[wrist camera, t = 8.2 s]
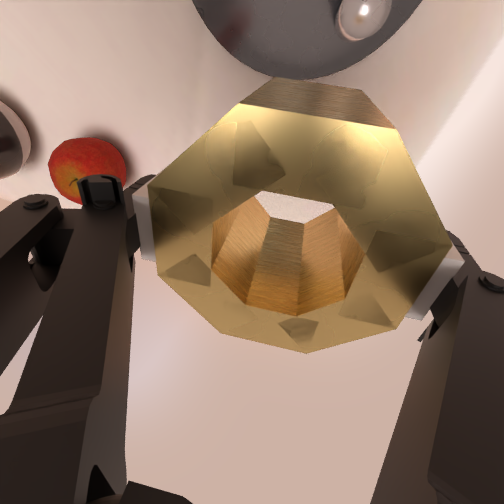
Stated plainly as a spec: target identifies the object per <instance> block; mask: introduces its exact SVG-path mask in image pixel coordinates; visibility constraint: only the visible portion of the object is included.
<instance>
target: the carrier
mask: <svg viewBox="0 0 504 504" xmlns="http://www.w3.org/2000/svg"><path fill="white" fill-rule="evenodd" d="M192 1H193V3H194V5H195V7H196V9H197V11H198V13H199V15H200V16H201V18H202V19H203V21H204V23H205V24H206V26H207V28H208V29H209V30H210V31H211V33H212V34H213V35H214V37H215V38H216V39H217V41H218V42H219V43H220V44H221V45H222V46H223V47H224V48H225V49H226V50H227V51H228V52H229V53H230V54H232V55H233V56H234V57H235V58H237V59H238V60H239V61H241V62H242V63H244V64H245V65H247V66H249V67H251V68H252V69H254V70H256V71H258V72H261V73H264V74H266V75H269V76H273V77H281V78H287V79H294V80H302V79H314V78H318V77H322V76H326V75H330V74H333V73H335V72H338V71H341V70H343V69H346V68H347V67H349V66H351V65H353V64H355V63H357V62H359V61H360V60H362V59H363V58H365V57H366V56H368V55H369V54H371V53H372V52H373V51H375V50H376V49H378V48H379V47H380V46H381V45H382V44H383V43H384V42H386V41H387V40H388V39H389V38H390V37H391V36H392V35H393V34H394V33H395V32H396V31H397V30H398V29H399V28H400V27H401V26H402V25H403V24H404V23H405V22H406V20H407V19H408V18H409V17H410V16H411V14H412V13H413V12H414V11H415V9H416V8H417V7H418V5H419V4H420V3H421V1H422V0H192Z"/></svg>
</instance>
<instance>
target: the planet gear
mask: <svg viewBox="0 0 504 504" xmlns="http://www.w3.org/2000/svg"><path fill="white" fill-rule="evenodd" d="M147 188H148V197H149V205H150V214H151V222H152V231H153V239H154V248H155V256H156V264H157V273H158V276H159V277H160V278H161V279H162V280H163V281H164V282H166V283H167V284H168V285H169V286H170V287H171V288H172V289H173V290H174V291H175V292H176V293H178V294H179V295H180V296H181V297H182V298H183V299H184V300H185V301H186V302H187V303H188V304H190V305H191V306H192V307H193V308H194V309H195V310H196V311H197V312H198V313H199V314H200V315H201V316H203V317H204V318H205V319H206V320H207V321H208V322H209V323H210V324H211V325H212V326H213V327H215V328H216V329H217V330H218V331H219V332H220V333H222V334H226V335H230V336H234V337H239V338H243V339H247V340H252V341H256V342H260V343H264V344H268V345H272V346H277V347H281V348H285V349H289V350H294V351H297V352H302V353H306V354H307V353H310V352H314V351H317V350H321V349H325V348H329V347H332V346H336V345H339V344H343V343H347V342H351V341H354V340H358V339H362V338H365V337H369V336H372V335H376V334H379V333H383V332H387V331H390V330H394V329H397V327H398V326H399V324H400V322H401V321H402V320H403V318H404V317H405V315H406V314H407V312H408V311H409V309H410V308H411V307H412V305H413V304H414V302H415V301H416V299H417V298H418V296H419V295H420V293H421V292H422V290H423V289H424V287H425V286H426V284H427V283H428V281H429V280H430V279H431V277H432V276H433V274H434V273H435V271H436V270H437V268H438V267H439V265H440V264H441V262H442V261H443V259H444V258H445V256H446V255H447V253H448V252H449V251H450V249H451V248H452V246H453V244H452V242H451V240H450V238H449V236H448V234H447V232H446V230H445V228H444V226H443V224H442V222H441V220H440V218H439V216H438V214H437V211H436V210H435V207H434V205H433V203H432V201H431V199H430V197H429V195H428V193H427V191H426V189H425V187H424V185H423V183H422V181H421V179H420V177H419V175H418V173H417V171H416V168H415V166H414V164H413V162H412V160H411V158H410V156H409V154H408V152H407V150H406V148H405V146H404V144H403V142H402V140H401V138H400V136H399V134H398V132H397V130H396V128H395V127H394V126H393V125H392V124H391V123H390V122H389V121H388V119H387V118H386V117H385V116H384V115H383V114H382V113H381V112H380V110H379V109H378V108H377V107H376V106H375V105H374V104H373V102H372V101H371V100H370V99H369V98H368V97H367V96H366V95H365V93H364V92H363V91H362V90H357V89H351V88H345V87H338V86H332V85H326V84H319V83H313V82H306V81H300V80H294V79H287V78H281V77H274V78H273V79H271V80H270V81H269V82H267V83H266V84H264V85H263V86H262V87H260V88H259V89H258V90H256V91H255V92H253V93H252V94H251V95H249V96H248V97H247V98H245V99H244V100H242V101H241V102H240V103H238V104H237V105H236V106H235V107H234V108H233V109H232V110H230V111H229V112H228V113H227V114H226V115H225V116H224V117H223V118H222V119H220V120H219V121H218V122H217V123H216V124H215V125H214V126H213V127H211V128H210V129H209V130H208V131H207V132H206V133H205V134H204V135H202V136H201V137H200V138H199V139H198V140H197V141H196V142H195V143H194V144H192V145H191V146H190V147H189V148H188V149H187V150H186V151H185V152H183V153H182V154H181V155H180V156H179V157H178V158H177V159H176V160H174V161H173V162H172V163H171V164H170V165H169V166H168V167H167V168H166V169H164V170H163V171H162V172H161V173H160V174H159V175H158V176H157V177H155V178H154V179H153V180H152V181H151V182H150V183H149V184H148V185H147ZM260 191H268V192H273V193H278V194H283V195H288V196H294V197H299V198H304V199H309V200H315V201H320V202H325V203H330V204H333V206H334V207H335V208H333V209H331V210H330V211H328V212H326V213H324V214H322V215H320V216H318V217H316V218H315V219H313V220H311V221H309V222H307V223H305V224H303V223H298V222H293V221H288V220H283V219H278V218H273V217H270V216H269V214H268V213H267V212H266V211H265V209H264V208H263V207H262V206H261V204H260V203H259V202H258V200H257V199H256V198H255V197H254V195H256V194H257V193H259V192H260Z"/></svg>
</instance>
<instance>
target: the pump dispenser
mask: <svg viewBox="0 0 504 504" xmlns="http://www.w3.org/2000/svg"><path fill="white" fill-rule="evenodd" d="M30 150H31V142H30V137H29V134H28V131H27V129H26V127H25V125H24V124H23V122H22V121H21V119H20V118H19V117H18V116H17V114H16V113H15V112H14V111H13V110H12V109H10V108H9V107H8V106H7V105H5V104H4V103H2V102H1V101H0V179H3V178H6V177H9V176H12V175H14V174H16V173H17V172H18V171H19V170H20V168H21V166H23V165H24V163H25V162H26V161H27V159H28V157H29V155H30Z"/></svg>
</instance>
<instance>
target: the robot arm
mask: <svg viewBox="0 0 504 504" xmlns="http://www.w3.org/2000/svg"><path fill="white" fill-rule="evenodd" d="M167 167H168V166H167ZM167 167H166V168H167ZM166 168H165V169H166ZM162 171H163V170H162ZM162 171H161V172H162ZM161 172H160V173H161ZM160 173H159V174H160ZM159 174H157V175H152V174H151V175H148V176H145V177H142V178H140V179H139V180H138V181H136V182H135V184H132V185H131V186H129V188H127V189H125V190H124V191H123V188H122V183H121V179H120V178H118V177H116V176H113V175H108V174H96V175H90V176H85V177H83V178H81V179H79V180H78V181H77V182H76V183H77V186H78V190H79V193H80V197H81V201H82V204H83V206H82V209H61V206H60V203H59V200H58V198H57V197H55V196H52V195H47V194H34V195H28V196H27V197H23V198H20V199H18V200H16V201H15V202H13V203H12V204H11V205H9V206H8V207H7V208H5V209H4V210H2V211H1V212H0V376H1V374H2V373H3V371H4V370H5V369H6V367H7V366H8V364H9V363H10V361H11V360H12V359H13V357H14V356H15V354H16V353H17V351H18V350H19V348H20V347H21V346H22V344H23V343H24V341H25V340H26V339H27V337H28V336H29V334H30V333H31V331H32V330H33V328H34V327H35V326H36V324H37V323H38V321H39V320H40V318H41V317H42V316H43V317H42V320H41V323H40V326H39V328H38V331H37V334H36V337H35V339H34V342H33V345H32V348H31V351H30V354H29V356H28V359H27V362H26V365H25V367H24V370H23V373H22V376H21V379H20V381H19V384H18V387H17V390H16V392H15V395H14V398H13V401H12V403H11V405H10V407H9V409H8V410H7V411H6V412H5V413H4V414H2V415H0V504H192V503H191V502H190V501H189V500H187V499H186V498H184V497H183V496H180V495H176V494H173V493H170V492H166V491H162V490H159V489H156V488H152V487H149V486H146V485H142V484H139V483H135V482H132V481H128V484H127V478H126V462H125V431H126V414H127V396H128V378H129V362H130V344H131V327H132V310H133V293H134V274H135V258H134V253H135V252H136V251H137V250H138V248H139V247H140V251H141V257H142V259H145V260H149V261H154V262H156V256H155V248H154V239H153V231H152V222H151V214H150V205H149V197H148V188H147V185H148V184H149V183H150V182H151V181H152V180H153V179H154V178H155V177H157V176H158V175H159ZM446 232H447V234H448V236H449V238H450V240H451V242H452V244H453V246H452V248H451V249H450V251H449V252H448V253H447V255H446V256H445V258H444V259H443V261H442V262H441V264H440V265H439V267H438V268H437V270H436V271H435V273H434V274H433V276H432V277H431V279H430V280H429V281H428V283H427V284H426V286H425V287H424V289H423V290H422V292H421V293H420V295H419V296H418V298H417V299H416V301H415V302H414V304H413V305H412V307H411V308H410V309H409V311H408V312H407V314H406V315H405V317H408V318H412V319H417V320H422V319H423V318H424V316H425V315H426V314H427V312H428V311H429V310H431V312H432V314H433V317H434V319H433V321H432V322H431V323H430V325H429V326H428V327H427V329H426V330H425V331H424V332H423V334H422V335H421V336H420V337H419V339H418V341H420V342H421V341H422V340H423V343H422V346H421V349H420V352H419V355H418V358H417V361H416V364H415V367H414V370H413V373H412V377H411V380H410V383H409V386H408V389H407V392H406V395H405V398H404V401H403V404H402V408H401V410H400V413H399V416H398V420H397V423H396V426H395V429H394V432H393V435H392V438H391V441H390V444H389V447H388V451H387V454H386V457H385V460H384V463H383V466H382V469H381V472H380V475H379V478H378V481H377V484H376V487H375V491H374V494H373V497H372V500H371V503H370V504H504V279H502V278H500V277H498V276H496V275H494V274H491V273H488V272H485V271H482V270H481V268H480V267H479V266H478V264H477V263H476V262H475V260H474V259H473V257H472V256H471V255H469V252H468V251H467V249H466V248H465V247H464V245H463V243H462V242H461V241H460V239H459V238H457V237H456V236H455V235H454V234H452V233H451V232H450V231H447V230H446ZM30 251H31V254H32V255H33V258H32V259H31V260H30V261H29V262H28V255H29V252H30ZM126 484H127V486H126Z"/></svg>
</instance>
